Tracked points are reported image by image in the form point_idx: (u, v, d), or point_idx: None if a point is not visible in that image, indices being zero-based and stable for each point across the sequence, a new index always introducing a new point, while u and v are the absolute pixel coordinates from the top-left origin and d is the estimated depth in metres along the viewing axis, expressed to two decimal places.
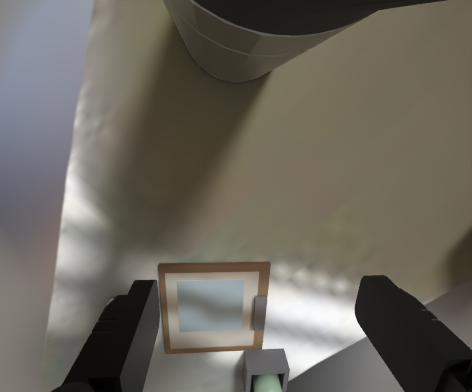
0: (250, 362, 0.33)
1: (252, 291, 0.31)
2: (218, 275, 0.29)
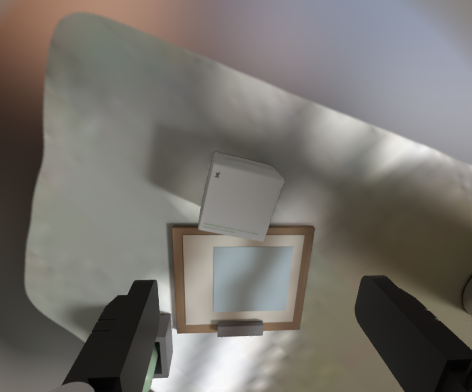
0: (168, 331, 0.26)
1: (268, 318, 0.28)
2: (293, 286, 0.27)
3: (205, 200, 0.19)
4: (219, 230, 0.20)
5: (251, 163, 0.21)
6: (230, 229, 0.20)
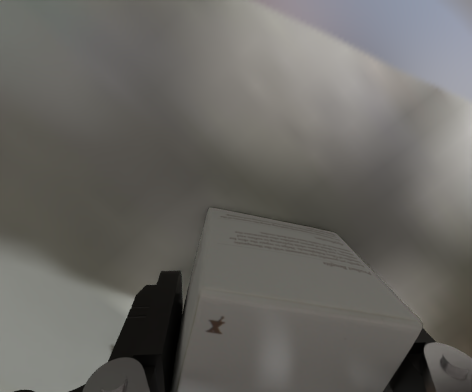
0: None
1: None
2: None
3: (179, 389, 0.06)
4: None
5: (303, 247, 0.08)
6: None
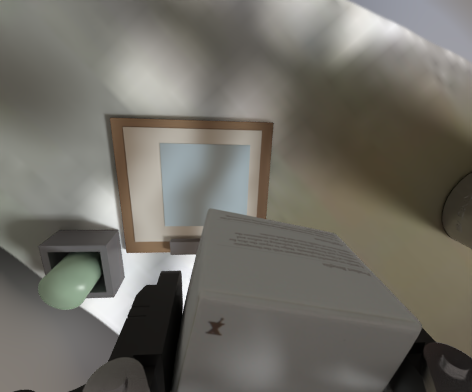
0: (112, 244, 0.23)
1: None
2: (253, 196, 0.24)
3: (179, 390, 0.06)
4: None
5: (303, 248, 0.08)
6: None
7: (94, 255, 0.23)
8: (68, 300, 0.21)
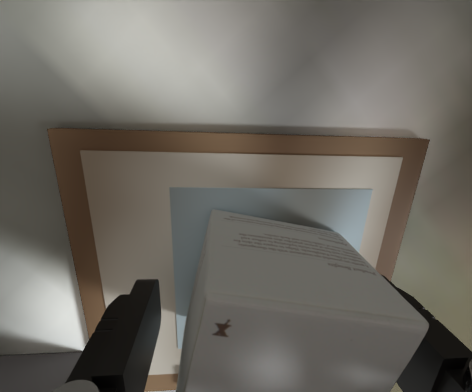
0: None
1: None
2: None
3: None
4: None
5: (307, 248, 0.08)
6: None
7: None
8: None
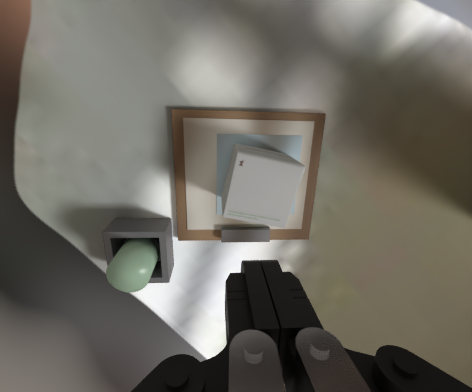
0: (168, 231, 0.24)
1: None
2: (302, 185, 0.25)
3: (229, 188, 0.19)
4: (243, 217, 0.20)
5: (271, 152, 0.21)
6: (253, 216, 0.20)
7: (151, 242, 0.24)
8: (133, 283, 0.22)
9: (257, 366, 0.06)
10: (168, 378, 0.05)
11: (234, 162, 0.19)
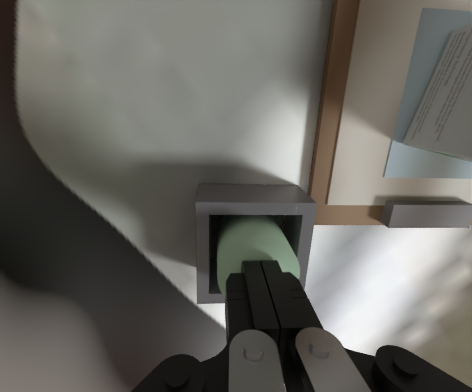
0: None
1: None
2: None
3: None
4: None
5: None
6: None
7: (273, 218, 0.14)
8: None
9: (257, 366, 0.06)
10: (168, 378, 0.05)
11: None
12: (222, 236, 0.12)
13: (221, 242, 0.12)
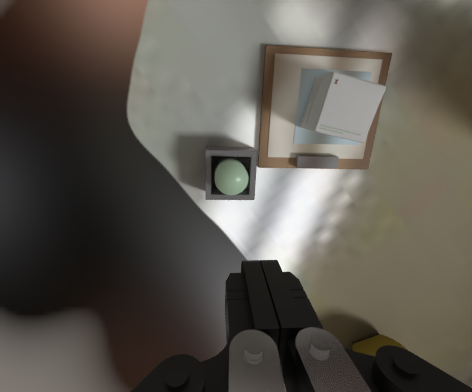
0: None
1: (341, 153, 0.30)
2: None
3: (323, 104, 0.24)
4: (331, 131, 0.25)
5: None
6: (340, 130, 0.25)
7: (240, 161, 0.29)
8: (234, 187, 0.27)
9: (257, 366, 0.06)
10: (168, 378, 0.05)
11: (329, 81, 0.23)
12: (217, 166, 0.28)
13: (216, 168, 0.27)
